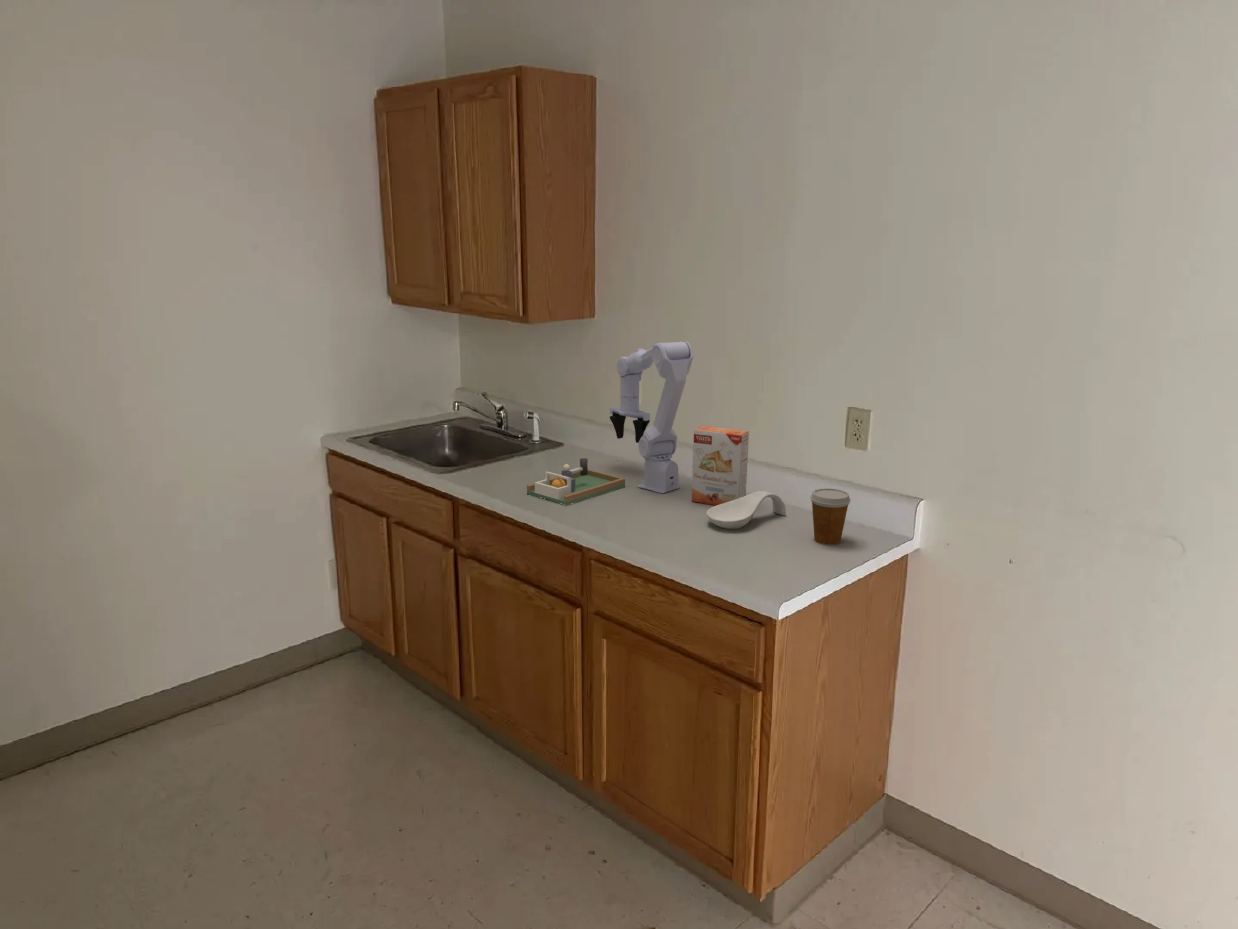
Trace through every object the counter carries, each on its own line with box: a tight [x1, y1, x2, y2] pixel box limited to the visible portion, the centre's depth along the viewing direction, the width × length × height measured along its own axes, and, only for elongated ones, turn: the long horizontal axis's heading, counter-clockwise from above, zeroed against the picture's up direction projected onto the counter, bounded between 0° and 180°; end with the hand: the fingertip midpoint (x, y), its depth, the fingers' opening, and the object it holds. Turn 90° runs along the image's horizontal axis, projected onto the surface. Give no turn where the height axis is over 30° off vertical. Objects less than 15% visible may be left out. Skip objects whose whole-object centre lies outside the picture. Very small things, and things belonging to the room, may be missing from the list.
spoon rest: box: [705, 490, 787, 530], centre depth 231 cm, size 24×12×7 cm, turn 125°
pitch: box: [526, 469, 626, 506], centre depth 257 cm, size 16×24×6 cm, turn 138°
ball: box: [552, 479, 566, 488], centre depth 252 cm, size 4×4×4 cm
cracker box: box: [691, 425, 750, 506], centre depth 244 cm, size 14×6×21 cm, turn 62°
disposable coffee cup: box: [809, 487, 852, 546], centre depth 217 cm, size 10×10×12 cm
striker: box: [558, 457, 589, 491], centre depth 256 cm, size 5×9×7 cm, turn 138°
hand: (629, 440), depth 273 cm, fingers open, 7 cm apart
